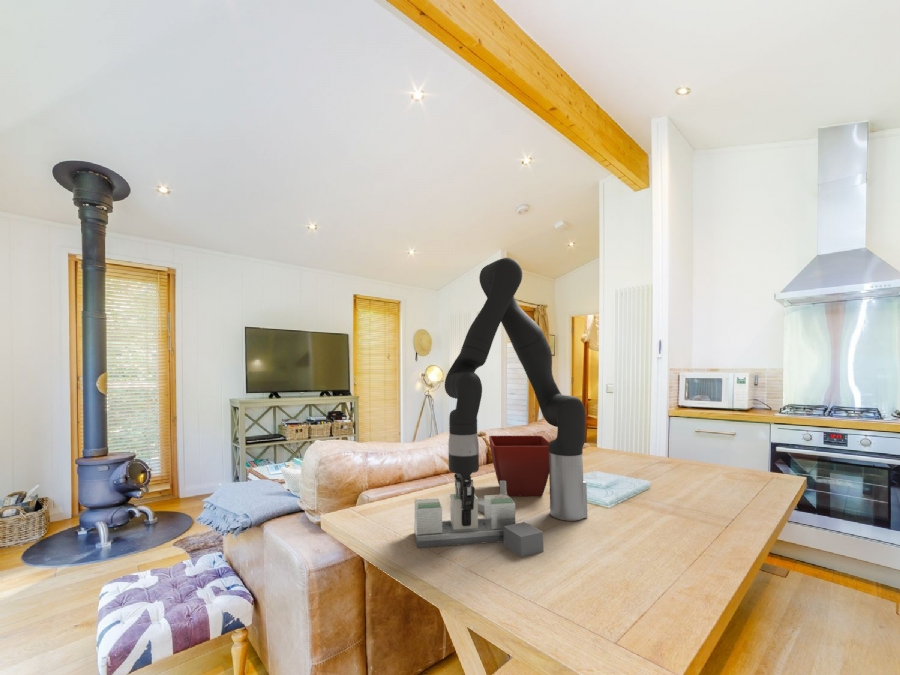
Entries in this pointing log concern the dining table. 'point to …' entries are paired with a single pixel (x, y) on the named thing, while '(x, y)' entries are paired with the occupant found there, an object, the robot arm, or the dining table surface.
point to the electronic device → (502, 491)
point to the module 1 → (457, 513)
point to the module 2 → (523, 539)
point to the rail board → (442, 533)
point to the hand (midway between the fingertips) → (464, 521)
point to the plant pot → (521, 463)
